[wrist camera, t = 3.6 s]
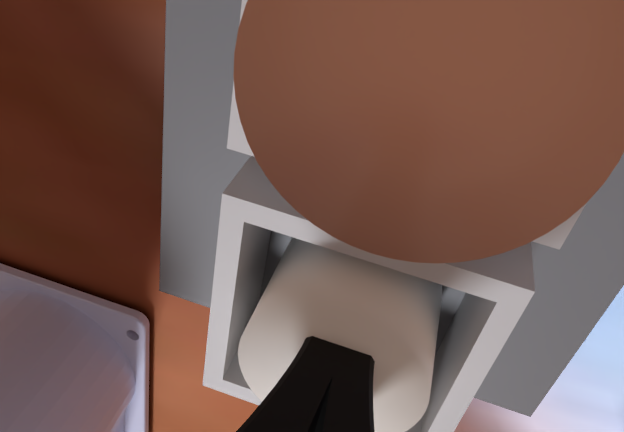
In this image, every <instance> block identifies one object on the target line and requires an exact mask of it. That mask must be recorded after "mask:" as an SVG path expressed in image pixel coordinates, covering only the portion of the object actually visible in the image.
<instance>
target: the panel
mask: <svg viewBox="0 0 624 432" xmlns="http://www.w3.org/2000/svg"><path fill="white" fill-rule="evenodd" d="M247 1H248V0H166V29H165V72H164V115H163V157H162V200H161V243H160V285H159V291H162V292H165V293H168V294H171V295H174V296H177V297H180V298H182V299H185V300H188V301H191V302H194V303H197V304H200V305H203V306H206V307H209V308H210V317H209V327H208V337H207V347H206V357H205V366H204V376H203V386H206V387H209V388H212V389H214V390H217V391H220V392H223V393H226V394H228V395H231V396H234V397H237V398H240V399H242V400H245V401H248V402H251V403H254V404H256V405H260V404H261V400H260V399H259V398H258V397H257V396H256V395H255V394H254V393H253V391H252V390H251V389H250V387H249V386H248V384H247V382H246V381H245V379H244V376H243V374H242V372H241V369H240V365H239V360H238V346H239V342H240V338H241V336H242V334H243V332H244V330H245V328H246V326H247V324H248V322H249V320H250V318H251V316H252V314H253V313H254V311H255V309H256V307H257V305H258V303H259V301H260V299H261V297H262V295H263V293H264V291H265V289H266V287H267V285H268V283H269V281H270V279H271V277H272V275H273V273H274V271H275V269H276V267H277V266H278V264H279V262H280V260H281V258H282V256H283V254H284V252H285V250H286V248H287V246H288V244H289V243H290V241H291V240H292V239H293V238H296V239H300V240H303V241H306V242H309V243H312V244H315V245H318V246H321V247H325V248H328V249H331V250H334V251H337V252H340V253H343V254H347V255H350V256H353V257H356V258H359V259H362V260H365V261H368V262H372V263H375V264H378V265H381V266H384V267H387V268H390V269H394V270H397V271H400V272H403V273H406V274H409V275H412V276H415V277H419V278H422V279H425V280H428V281H431V282H434V283H437V284H441V285H442V300H441V309H440V317H439V325H438V334H437V342H436V350H435V359H434V367H433V375H432V384H431V392H430V399H429V404H428V407H427V409H426V412H425V413H424V415H423V416H422V418H421V419H420V420H419V421H418V422H417V423H416V424H415V425H414V426H413V427H411V428H410V429H409V430H407V431H405V432H454V430H455V428H456V427H457V425H458V423H459V421H460V420H461V418H462V416H463V415H464V413H465V411H466V409H467V408H468V406H469V404H470V403H471V401H472V399H473V397H474V398H477V399H480V400H483V401H486V402H489V403H491V404H494V405H497V406H500V407H503V408H506V409H509V410H512V411H515V412H518V413H521V414H524V415H527V416H530V417H531V415H532V414H533V412H534V411H535V410H536V408H537V407H538V405H539V404H540V403H541V401H542V400H543V398H544V397H545V395H546V394H547V393H548V391H549V390H550V388H551V387H552V386H553V384H554V383H555V381H556V380H557V379H558V377H559V376H560V374H561V373H562V371H563V370H564V369H565V367H566V366H567V364H568V363H569V362H570V360H571V359H572V357H573V356H574V354H575V353H576V352H577V350H578V349H579V347H580V346H581V345H582V343H583V342H584V340H585V339H586V338H587V336H588V335H589V333H590V332H591V330H592V329H593V328H594V326H595V325H596V323H597V322H598V321H599V319H600V318H601V316H602V315H603V313H604V312H605V311H606V309H607V308H608V306H609V305H610V304H611V302H612V301H613V299H614V298H615V297H616V295H617V294H618V292H619V291H620V289H621V288H622V287H623V285H624V152H623V154H622V156H621V158H620V160H619V162H618V164H617V165H616V167H615V168H614V170H613V171H612V173H611V174H610V176H609V177H608V178H607V180H606V181H605V183H604V184H603V185H602V186H601V187H600V189H599V190H598V191H597V192H596V193H595V194H594V195H593V196H592V198H591V199H590V200H589V201H588V202H587V203H586V204H585V205H584V206H583V207H581V208H580V209H579V210H578V211H577V212H576V213H574V214H573V215H572V216H571V217H570V218H569V219H567V220H566V221H565V222H563V223H562V224H560V225H559V226H557V227H556V228H554V229H553V230H551V231H550V232H548V233H547V234H545V235H543V236H541V237H539V238H537V239H535V240H533V241H531V242H529V243H527V244H525V245H523V246H520V247H518V248H515V249H512V250H510V251H507V252H505V253H501V254H498V255H494V256H490V257H486V258H483V259H477V260H471V261H464V262H456V263H418V262H409V261H402V260H396V259H391V258H387V257H383V256H379V255H375V254H372V253H369V252H366V251H364V250H361V249H358V248H356V247H353V246H350V245H348V244H346V243H344V242H342V241H340V240H338V239H336V238H334V237H332V236H331V235H329V234H328V233H326V232H324V231H323V230H321V229H320V228H318V227H317V226H315V225H314V224H312V223H311V222H310V221H309V220H307V219H306V218H305V217H303V216H302V215H301V214H300V213H298V212H297V211H296V210H295V209H294V208H293V207H292V206H291V205H290V204H289V203H288V202H287V201H286V200H285V199H284V198H283V197H282V196H281V195H280V193H279V192H278V191H277V190H276V188H275V187H274V186H273V185H272V183H271V182H270V181H269V180H268V178H267V177H266V175H265V173H264V172H263V170H262V169H261V167H260V166H259V164H258V162H257V161H256V159H255V156H254V154H253V152H252V150H251V148H250V146H249V144H248V142H247V139H246V136H245V133H244V131H243V128H242V125H241V122H240V118H239V113H238V109H237V104H236V99H235V88H234V77H233V75H234V52H235V46H236V40H237V34H238V28H239V25H240V22H241V19H242V15H243V12H244V9H245V5H246V3H247Z"/></svg>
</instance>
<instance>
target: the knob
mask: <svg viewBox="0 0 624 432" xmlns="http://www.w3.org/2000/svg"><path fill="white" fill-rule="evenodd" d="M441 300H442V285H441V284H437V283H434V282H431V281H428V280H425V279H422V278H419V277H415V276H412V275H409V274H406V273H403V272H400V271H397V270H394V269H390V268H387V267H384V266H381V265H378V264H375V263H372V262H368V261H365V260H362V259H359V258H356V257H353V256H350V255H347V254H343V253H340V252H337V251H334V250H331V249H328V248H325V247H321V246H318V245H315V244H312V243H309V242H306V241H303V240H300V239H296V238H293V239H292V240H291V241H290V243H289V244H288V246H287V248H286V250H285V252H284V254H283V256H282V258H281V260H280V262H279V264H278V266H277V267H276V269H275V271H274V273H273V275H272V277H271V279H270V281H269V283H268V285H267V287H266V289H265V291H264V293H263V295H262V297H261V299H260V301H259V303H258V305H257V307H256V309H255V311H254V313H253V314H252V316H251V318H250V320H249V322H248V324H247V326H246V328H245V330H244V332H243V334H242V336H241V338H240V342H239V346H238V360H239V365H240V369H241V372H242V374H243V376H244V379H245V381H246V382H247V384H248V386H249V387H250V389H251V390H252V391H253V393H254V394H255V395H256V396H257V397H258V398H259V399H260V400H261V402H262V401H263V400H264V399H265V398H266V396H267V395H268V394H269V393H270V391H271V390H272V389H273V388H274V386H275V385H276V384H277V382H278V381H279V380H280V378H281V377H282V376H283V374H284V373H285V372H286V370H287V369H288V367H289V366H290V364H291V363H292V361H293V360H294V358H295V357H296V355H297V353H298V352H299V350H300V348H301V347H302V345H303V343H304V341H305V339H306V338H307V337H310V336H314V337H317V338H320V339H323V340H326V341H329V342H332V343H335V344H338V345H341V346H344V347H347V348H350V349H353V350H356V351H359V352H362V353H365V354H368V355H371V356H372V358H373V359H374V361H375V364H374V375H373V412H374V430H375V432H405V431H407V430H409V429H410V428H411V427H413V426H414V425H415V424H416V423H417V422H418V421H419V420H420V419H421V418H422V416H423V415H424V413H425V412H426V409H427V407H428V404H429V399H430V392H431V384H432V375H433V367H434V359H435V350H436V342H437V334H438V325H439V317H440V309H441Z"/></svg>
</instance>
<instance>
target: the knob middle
mask: <svg viewBox="0 0 624 432" xmlns="http://www.w3.org/2000/svg"><path fill="white" fill-rule="evenodd" d="M233 77H234V88H235V99H236V104H237V109H238V113H239V118H240V122H241V125H242V128H243V131H244V133H245V136H246V139H247V142H248V144H249V146H250V148H251V150H252V152H253V154H254V156H255V159H256V161H257V162H258V164H259V166H260V167H261V169H262V170H263V172H264V173H265V175H266V177H267V178H268V180H269V181H270V182H271V183H272V185H273V186H274V187H275V188H276V190H277V191H278V192H279V193H280V195H281V196H282V197H283V198H284V199H285V200H286V201H287V202H288V203H289V204H290V205H291V206H292V207H293V208H294V209H295V210H296V211H297V212H298V213H300V214H301V215H302V216H303V217H305V218H306V219H307V220H309V221H310V222H311V223H312V224H314V225H315V226H317V227H318V228H320V229H321V230H323V231H324V232H326V233H328V234H329V235H331V236H332V237H334V238H336V239H338V240H340V241H342V242H344V243H346V244H348V245H350V246H353V247H356V248H358V249H361V250H364V251H366V252H369V253H372V254H375V255H379V256H383V257H387V258H391V259H396V260H402V261H409V262H418V263H456V262H464V261H471V260H477V259H483V258H486V257H490V256H494V255H498V254H501V253H505V252H507V251H510V250H512V249H515V248H518V247H520V246H523V245H525V244H527V243H529V242H531V241H533V240H535V239H537V238H539V237H541V236H543V235H545V234H547V233H548V232H550V231H551V230H553V229H554V228H556V227H557V226H559V225H560V224H562V223H563V222H565V221H566V220H567V219H569V218H570V217H571V216H572V215H573V214H574V213H576V212H577V211H578V210H579V209H580V208H581V207H583V206H584V205H585V204H586V203H587V202H588V201H589V200H590V199H591V198H592V196H593V195H594V194H595V193H596V192H597V191H598V190H599V189H600V187H601V186H602V185H603V184H604V183H605V181H606V180H607V178H608V177H609V176H610V174H611V173H612V171H613V170H614V168H615V167H616V165H617V164H618V162H619V160H620V158H621V156H622V154H623V152H624V0H248V1H247V3H246V5H245V9H244V12H243V15H242V19H241V22H240V25H239V28H238V34H237V40H236V46H235V52H234V75H233Z"/></svg>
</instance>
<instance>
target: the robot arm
mask: <svg viewBox="0 0 624 432" xmlns="http://www.w3.org/2000/svg"><path fill="white" fill-rule="evenodd" d="M374 364H375V361H374V359H373V358H372V356H371V355H368V354H365V353H362V352H359V351H356V350H353V349H350V348H347V347H344V346H341V345H338V344H335V343H332V342H329V341H326V340H323V339H320V338H317V337H314V336H310V337H307V338H306V339H305V341H304V343H303V345H302V347H301V348H300V350H299V352H298V353H297V355H296V357H295V358H294V360H293V361H292V363H291V364H290V366H289V367H288V369H287V370H286V372H285V373H284V374H283V376H282V377H281V378H280V380H279V381H278V382H277V384H276V385H275V386H274V388H273V389H272V390H271V391H270V393H269V394H268V395H267V396H266V398H265V399H264V400H263V401H262V402H261V404H260V405H259V406H258V407H257V409H256V410H255V411H254V412H253V414H252V415H251V416H250V417H249V418H248V419H247V420H246V422H245V423H244V424H243V425H242V426H241V427H240V428H239V429H238V430H237V431H236V432H375V430H374V412H373V375H374ZM0 432H149V320H148V319H147V317H146V316H145V315H144V314H143V313H141V312H139V311H137V310H134V309H131V308H128V307H125V306H122V305H119V304H117V303H114V302H111V301H108V300H105V299H102V298H99V297H96V296H93V295H91V294H88V293H85V292H82V291H79V290H76V289H73V288H70V287H67V286H65V285H62V284H59V283H56V282H53V281H50V280H47V279H44V278H41V277H39V276H36V275H33V274H30V273H27V272H24V271H21V270H18V269H15V268H12V267H10V266H7V265H4V264H1V263H0Z"/></svg>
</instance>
